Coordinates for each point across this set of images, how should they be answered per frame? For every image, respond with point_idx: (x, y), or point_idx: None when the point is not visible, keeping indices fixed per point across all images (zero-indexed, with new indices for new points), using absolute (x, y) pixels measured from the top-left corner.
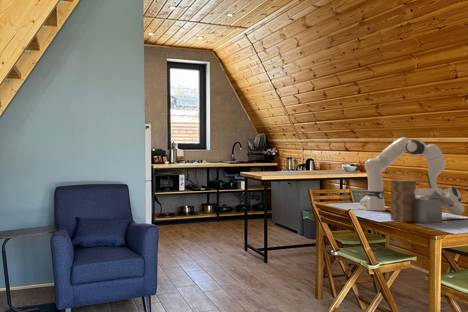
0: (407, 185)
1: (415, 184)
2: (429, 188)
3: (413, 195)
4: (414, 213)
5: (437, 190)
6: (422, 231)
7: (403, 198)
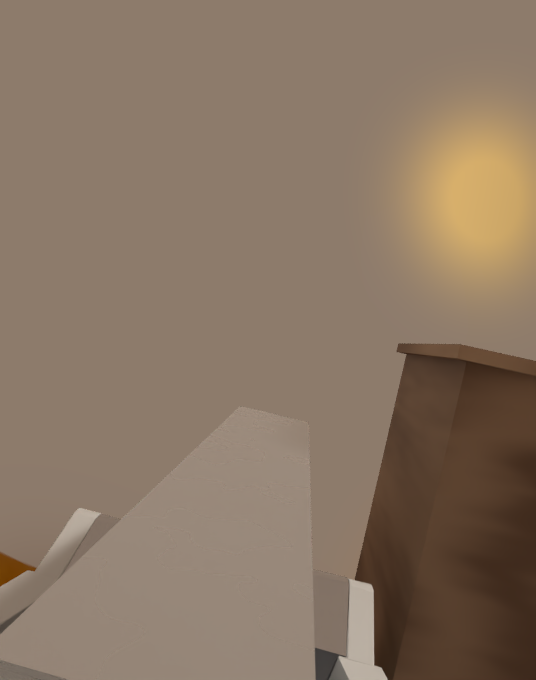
0: (411, 402)
1: (453, 415)
2: (288, 498)
3: (400, 579)
4: None
5: (72, 521)
6: (12, 563)
7: (367, 533)
